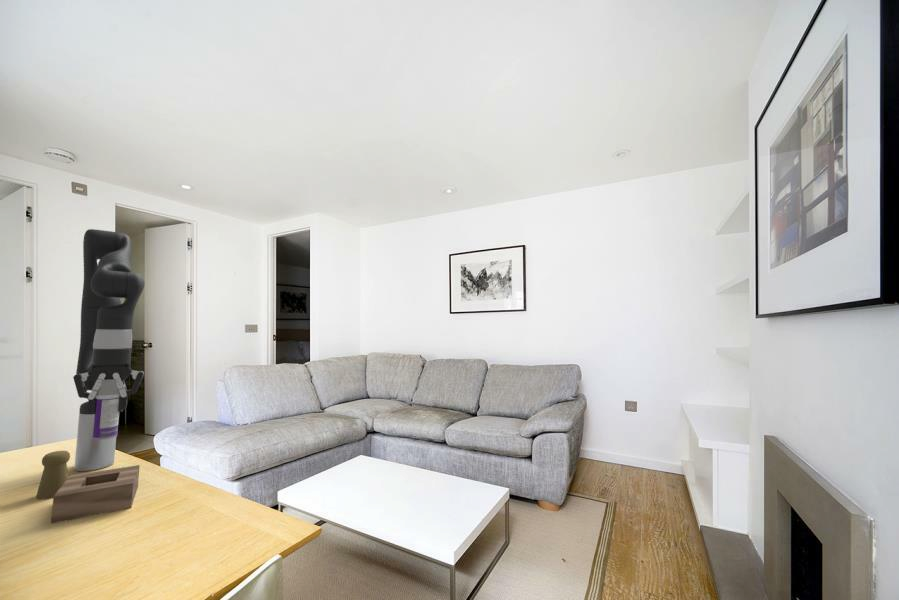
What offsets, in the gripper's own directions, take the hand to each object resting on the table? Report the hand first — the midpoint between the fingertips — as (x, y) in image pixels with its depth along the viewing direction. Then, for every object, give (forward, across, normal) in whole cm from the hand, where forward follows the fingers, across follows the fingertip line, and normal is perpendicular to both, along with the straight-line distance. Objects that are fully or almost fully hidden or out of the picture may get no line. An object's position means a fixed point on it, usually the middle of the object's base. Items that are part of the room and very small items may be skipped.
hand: (107, 412), depth 96 cm
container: (+7, 0, 0) cm, 7 cm away
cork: (+23, +11, -13) cm, 29 cm away
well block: (+23, 0, 0) cm, 23 cm away
